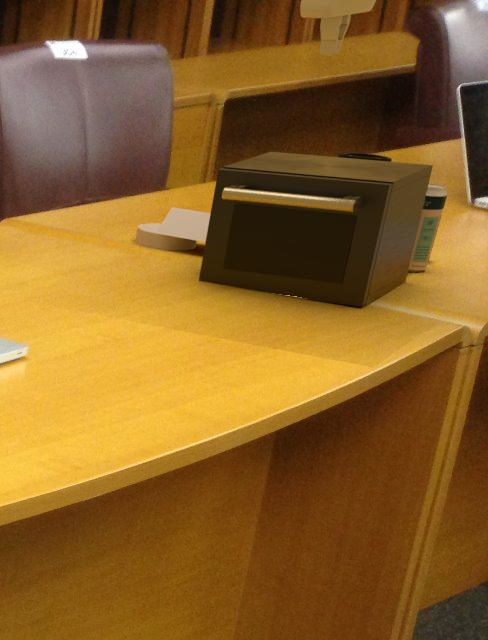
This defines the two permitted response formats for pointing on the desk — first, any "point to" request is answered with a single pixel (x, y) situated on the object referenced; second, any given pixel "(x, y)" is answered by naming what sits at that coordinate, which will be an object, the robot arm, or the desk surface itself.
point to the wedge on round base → (175, 230)
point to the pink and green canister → (428, 227)
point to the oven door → (295, 234)
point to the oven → (400, 210)
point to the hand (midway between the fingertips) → (329, 54)
